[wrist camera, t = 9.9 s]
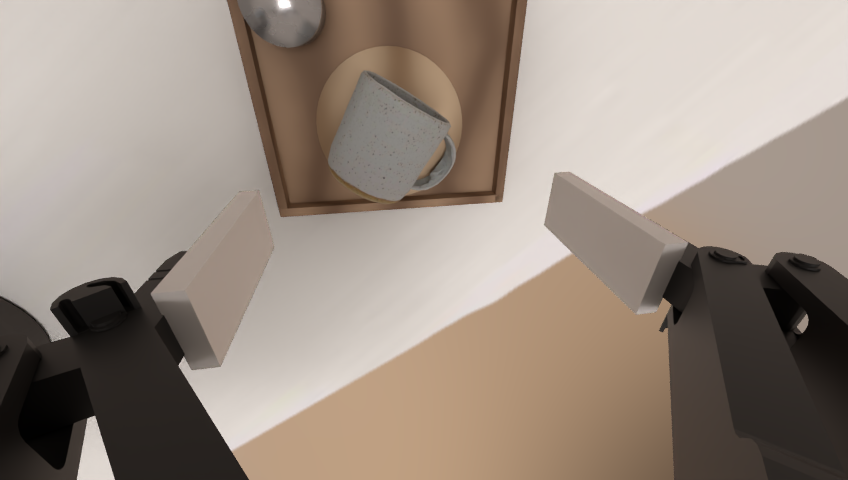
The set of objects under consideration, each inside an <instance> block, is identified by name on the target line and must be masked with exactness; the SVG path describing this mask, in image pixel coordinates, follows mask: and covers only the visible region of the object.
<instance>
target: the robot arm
mask: <svg viewBox="0 0 848 480" xmlns="http://www.w3.org/2000/svg"><path fill="white" fill-rule="evenodd" d="M544 226H546V227H547V228H548V229H549V230H550V231H551V232H552V233H553V234H554V235H555V236H556V237H557V238H558V239H559V240H560V241H561V242H562V243H563V244H564V245H565V246H566V247H567V248H568V249H569V250H570V251H571V252H572V253H573V254H574V255H575V256H576V257H577V258H578V259H579V260H580V261H581V262H583V264H585V265H586V266H587V267H588V268H589V269H590V270H591V271H592V272H593V273H594V274H595V275H596V276H597V277H598V278H599V279H600V280H601V281H602V282H603V283H604V284H605V285H606V286H607V287H608V288H609V289H610V290H611V291H612V292H613V293H614V294H615V295H616V296H617V297H618V298H620V300H621V301H622V302H624V304H626V305H627V306H628V307H629V308H630V309H631V310H632V311H633V312H634V313H635V314H636V315H637V314H645V313H652V312H656V311H657V309H658V307H659V305H660V303H661V301H662V298H664V299H666V300H667V301H668V302H669V303H670V304H672V305H671V307H670V309H669V311H668V313H667V315H666V317H665V319H664V322H663V323H662V326H661V328H660V330H659V331H661V332H663V331H664V329H665V328H668V343H669V366H670V390H671V414H672V437H673V461H674V480H848V279H847V278H845V277H844V276H843V275H842V274H840V273H839V272H837V271H836V270H835V269H834V268H832V267H831V266H829V265H827V264H826V263H824V262H821V261H819V260H817V259H816V258H814V257H811V256H807V255H804V254H795V253H788V252H780V253H776V254H775V255H774V257H773V259H772V260H771V262H770V264H769V265H768V266H764V265H753V264H752V263H751V262H750V261H749V260H748V259H747V258H746V257H744V256H742V255H740V254H738V253H736V252H733V251H730V250H727V249H723V248H719V247H712V246H707V247H701V248H697V247H696V246H694V245H692V244H690V243H689V242H687V241H685V240H684V239H682V238H680V237H679V236H677V235H675V234H674V233H671V232H670V231H669V230H667V229H665V228H663V227H661V226H660V225H658V224H657V223H655V222H654V221H652V220H650V219H648V218H646V217H645V216H643V215H641V214H640V213H638V212H636V211H635V210H633V209H631V208H629V207H628V206H626V205H624V204H623V203H621V202H619V201H618V200H616V199H614V198H613V197H611V196H609V195H608V194H606V193H604V192H603V191H601V190H599V189H598V188H596V187H594V186H593V185H591V184H589V183H588V182H586V181H584V180H582V179H581V178H579V177H577V176H576V175H574V174H572V173H571V172H560V173H554V178H553V183H552V188H551V193H550V198H549V203H548V208H547V213H546V218H545V223H544ZM273 249H274V244H273V240H272V236H271V233H270V229H269V225H268V222H267V218H266V214H265V211H264V207H263V203H262V200H261V196H260V192H259V190H258V191H241V192H239V193H238V194H237V195H236V196H235V197H234V198H233V200H232V201H231V202H230V203H229V204H228V205H227V206H226V208H225V209H224V210H223V211H222V212H221V213H220V214H219V216H218V217H217V218H216V219H215V220H214V221H213V222H212V224H211V225H210V226H209V227H208V228H207V229H206V230H205V232H204V233H203V234H202V235H201V236H200V237H199V239H198V240H197V241H196V242H195V243H194V244H193V245H192V247H191V248H190V249H189V250H188V251H181V252H179V253H177V254H175V255H174V256H172V257H171V258H169V259H167V260H166V261H165V262H164V263H163V264H162V265H161V266H160V267H159V268H158V269H157V270H156V272H154V273H153V274H152V276H151V277H150V278H149V281H146V282H145V283H144V284H143V285H142V286H141V287H140V288H139V289H138V290H137V292H136V293H135V294H134V293H133V291H132V289H131V288H130V286H129V284H128V282H127V281H126V280H124V279H123V278H116V277H110V278H103V279H98V280H94V281H91V282H87V283H84V284H82V285H80V286H77V287H75V288H73V289H71V290H69V291H67V292H66V293H64V294H62V295H61V296H59V297H58V298H57V299H56V300H55V301H54V302H53V303H52V305H51V309H50V310H51V311H52V313H53V314H54V315H55V317H56V318H57V319H58V321H59V322H60V323H61V325H62V326H63V327H64V329H65V330H66V331H67V333H68V334H69V335H70V337H69V338H65V339H61V340H58V341H54V342H51V343H50V341H49V339H48V336H47V335H46V333H45V332H44V330H43V329H42V328H41V327H40V325H39V324H38V323H37V322H36V321H35V320H33V319H32V318H31V317H30V316H29V315H27V314H26V313H25V312H23V311H22V310H21V309H19V308H17V307H16V306H14V305H12V304H11V303H9V302H7V301H5V300H3V299H1V298H0V480H77V475H78V469H79V463H80V458H81V452H82V446H83V441H84V435H85V429H86V424H87V418H89V417H92V416H96V420H97V423H98V426H99V429H100V433H101V436H102V439H103V442H104V445H105V449H106V452H107V455H108V458H109V462H110V465H111V468H112V471H113V475H114V478H115V480H249V479H248V477H247V476H246V474H245V473H244V471H243V469H242V468H241V466H240V465H239V463H238V461H237V460H236V458H235V457H234V455H233V453H232V452H231V450H230V449H229V447H228V445H227V444H226V442H225V440H224V439H223V437H222V436H221V434H220V432H219V431H218V429H217V428H216V426H215V424H214V423H213V421H212V420H211V418H210V416H209V415H208V413H207V412H206V410H205V408H204V407H203V405H202V403H201V402H200V400H199V399H198V397H197V395H196V394H195V392H194V391H193V389H192V387H191V386H190V384H189V383H188V381H187V379H186V378H185V376H184V375H183V373H182V371H181V370H180V368H179V366H178V365H179V363H180V362H181V360H182V358H183V357H185V359H186V361H187V363H188V364H189V366H190V368H191V370H197V369H205V368H213V367H221V365H222V362H223V360H224V358H225V356H226V354H227V351H228V349H229V347H230V345H231V342H232V340H233V338H234V336H235V334H236V331H237V329H238V327H239V325H240V322H241V320H242V318H243V316H244V314H245V311H246V309H247V307H248V305H249V302H250V300H251V298H252V296H253V294H254V291H255V289H256V287H257V285H258V283H259V280H260V278H261V276H262V274H263V271H264V269H265V267H266V265H267V263H268V260H269V258H270V256H271V254H272V251H273ZM806 314H807V315H808V319H809V321H808V326H807V328H806V330H805V331H804V332H803V333H801V332H800V331H799V329H798V328H797V326H798V324H799V323H800V322H801V320H802V319H803V318H804V317H805V315H806Z"/></svg>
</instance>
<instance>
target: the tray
mask: <svg viewBox="0 0 848 480" xmlns="http://www.w3.org/2000/svg"><path fill="white" fill-rule="evenodd" d="M227 2H228V6H229V10H230V14H231V18H232V22H233V26H234V30H235V34H236V38H237V42H238V46H239V50H240V54H241V58H242V62H243V66H244V70H245V74H246V79H247V83H248V87H249V91H250V95H251V99H252V103H253V107H254V111H255V115H256V119H257V123H258V127H259V131H260V135H261V139H262V143H263V147H264V151H265V155H266V159H267V163H268V167H269V171H270V175H271V180H272V184H273V188H274V192H275V196H276V200H277V204H278V208H279V212H280V216H281V217H288V216H303V215H317V214H332V213H347V212H361V211H376V210H391V209H405V208H420V207H434V206H449V205H464V204H478V203H493V202H502V200H503V192H504V184H505V176H506V167H507V159H508V151H509V143H510V135H511V127H512V119H513V111H514V103H515V95H516V87H517V79H518V71H519V62H520V54H521V46H522V38H523V30H524V22H525V14H526V6H527V0H324V3H325V9H326V18H325V24H324V27H323V30H322V32H321V33H320V35H319V36H318V37H317V39H315V40H314V41H313V42H311V43H310V44H307V45H304V46H298V47H291V48H287V47H280V46H276V45H273V44H271V43H269V42H267V41H265V40H264V39H262V38H261V37H260V36H258V35H257V34H256V33H255V32H254V31H253V30H252V29H251V27H250V26H249V25H248V23H247V22H246V20H245V19H244V17H243V15H242V13H241V11H240V8H239V5H238V2H237V0H227ZM364 70H367V71H371V72H374V73H376V74H378V75H380V76H382V77H384V78H385V79H387V80H389V81H391V82H392V83H394V84H396V85H398V86H399V87H401V88H403V89H404V90H406V91H407V92H409V93H411V94H412V95H413V96H415V97H416V98H418V99H420V100H421V101H423V102H424V103H426V104H427V105H428V106H430V107H431V108H433V109H434V110H435V111H437V112H438V113H439V114H441V115H442V116H443V117H444V118H446V119H447V120H448V121H449V122H450V124H451V127H450V129H449V131H448V135H449V136H450V137H451V139H452V140H453V142H454V145H455V148H456V159H455V162H454V165H453V167H452V169H451V170H450V172H449V173H448V174H447V176H446V177H445V178H444V179H443V180H442V181H441V182H440V183H439V184H437V185H435V186H434V187H432V188H429V189H427V190H419V191H418V190H412V189H410V191H409V192H408V193H407V194H406V195H405V196H404V197H403V198H402V199H401V200H400V201H398V202H396V203H392V204H380V203H376V202H373V201H370V200H367V199H365V198H362V197H360V196H358V195H356V194H355V193H353V192H351V191H350V190H348V189H347V188H345V187H344V186H343V185H342V184H340V183H339V182H338V181H337V180H336V179H335V177H334V176H333V175H332V173H331V171H330V169H329V166H328V157H329V153H330V148H331V145H332V142H333V140H334V138H335V135H336V133H337V131H338V128H339V126H340V124H341V121H342V119H343V116H344V113H345V111H346V109H347V106H348V104H349V101H350V99H351V97H352V94H353V92H354V90H355V88H356V85H357V82H358V80H359V77H360V75H361V73H362V72H363V71H364ZM445 150H446V143H445V140H444V139H443V140H442V142H441V143H440V144H439V146H438V147H437V149H436V151H435V152H434V154H433V155H432V157H431V158H430V160H429V161H428V162H427V164H426V165H425V167H424V168H423V170H422V171H421V173H420V175H419V176H418V178H417V180H419V179H422V178H425V177H427V176H429V175H430V173H431V172H432V171H433V170H434V169H435V167H436V166H437V165H438V163H439V162H440V161H441V159H442V158H443V156H444V153H445Z"/></svg>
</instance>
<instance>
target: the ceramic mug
mask: <svg viewBox="0 0 848 480" xmlns="http://www.w3.org/2000/svg"><path fill="white" fill-rule="evenodd" d="M450 127H451V124H450V122H449V121H448V120H447V119H446V118H444V117H443V116H442V115H441V114H439V113H438V112H437V111H435V110H434V109H433V108H431V107H430V106H428V105H427V104H426V103H424V102H423V101H421V100H420V99H418V98H416V97H415V96H413V95H412V94H411V93H409V92H407V91H406V90H404V89H403V88H401V87H399V86H398V85H396V84H394V83H392V82H391V81H389V80H387V79H385V78H384V77H382V76H380V75H378V74H376V73H374V72H371V71H367V70H364V71H363V72H362V73H361V75H360V77H359V80H358V82H357V85H356V88H355V90H354V92H353V94H352V97H351V99H350V101H349V104H348V106H347V109H346V111H345V113H344V116H343V119H342V121H341V124H340V126H339V128H338V131H337V133H336V135H335V138H334V140H333V142H332V145H331V148H330V153H329V157H328V166H329V169H330V171H331V173H332V175H333V176H334V177H335V179H336V180H337V181H338V182H339V183H340V184H342V185H343V186H344V187H345V188H347V189H348V190H350V191H351V192H353V193H355V194H356V195H358V196H360V197H362V198H365V199H367V200H370V201H373V202H376V203H380V204H392V203H396V202H398V201H400V200H401V199H402V198H403V197H404V196H405V195H406V194H407V193H408V192H409V191H410V189H412V190H418V191H419V190H427V189H429V188H432V187H434V186H435V185H437V184H439V183H440V182H441V181H442V180H443V179H444V178H445V177H446V176H447V174H448V173H449V172H450V170H451V169H452V167H453V165H454V162H455V159H456V148H455V145H454V142H453V140H452V139H451V137H450V136H449V135H448V131H449V129H450ZM443 139H444V140H445V143H446V150H445V153H444V156H443V158H442V159H441V161H440V162H439V163H438V165H437V166H436V167H435V169H434V170H433V171H432V172H431V173H430V175H429V176H427V177H425V178H422V179H419V180H417V178H418V176H419V175H420V173H421V171H422V170H423V168H424V167H425V165H426V164H427V162H428V161H429V160H430V158H431V157H432V155H433V154H434V152H435V151H436V149H437V147H438V146H439V144H440V143H441V142H442V140H443Z"/></svg>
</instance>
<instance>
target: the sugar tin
mask: <svg viewBox="0 0 848 480" xmlns="http://www.w3.org/2000/svg"><path fill="white" fill-rule="evenodd" d="M237 2H238V5H239V8H240V11H241V13H242V15H243V17H244V19H245V20H246V22H247V23H248V25H249V26H250V27H251V29H252V30H253V31H254V32H255V33H256V34H257V35H258V36H260V37H261V38H262V39H264V40H265V41H267V42H269V43H271V44H273V45H276V46H280V47H287V48H291V47H298V46H304V45H307V44H310V43H311V42H313V41H314V40H315V39H317V37H318V36H319V35H320V33H321V32H322V30H323V27H324V24H325V18H326V9H325V3H324V0H237Z"/></svg>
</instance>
